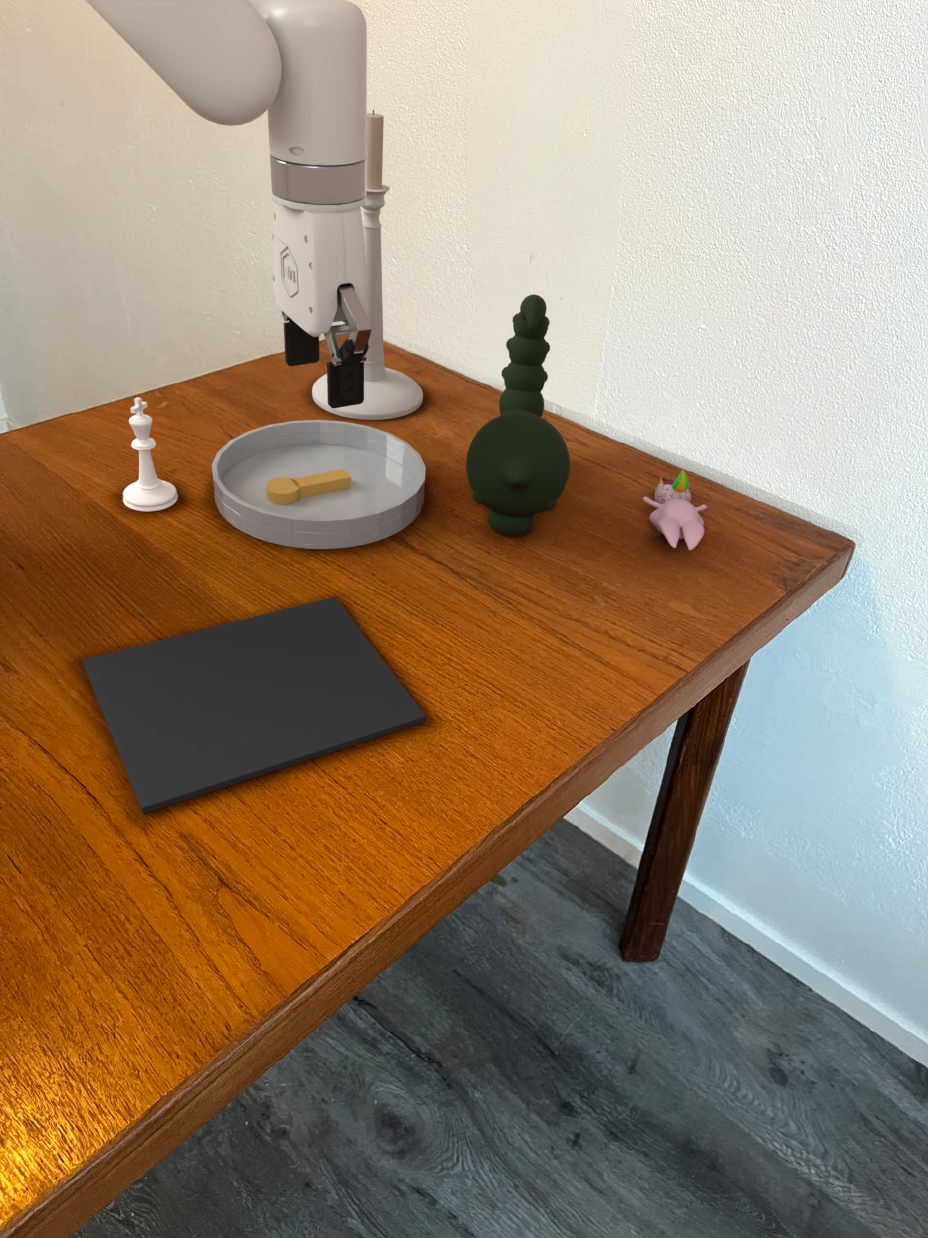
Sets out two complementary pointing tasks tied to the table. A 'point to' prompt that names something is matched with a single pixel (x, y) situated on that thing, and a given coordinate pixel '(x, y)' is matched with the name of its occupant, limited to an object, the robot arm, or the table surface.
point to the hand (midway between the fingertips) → (323, 383)
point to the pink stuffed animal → (677, 513)
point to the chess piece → (146, 468)
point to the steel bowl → (328, 520)
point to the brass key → (306, 486)
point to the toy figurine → (520, 435)
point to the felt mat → (245, 700)
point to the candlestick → (375, 308)
